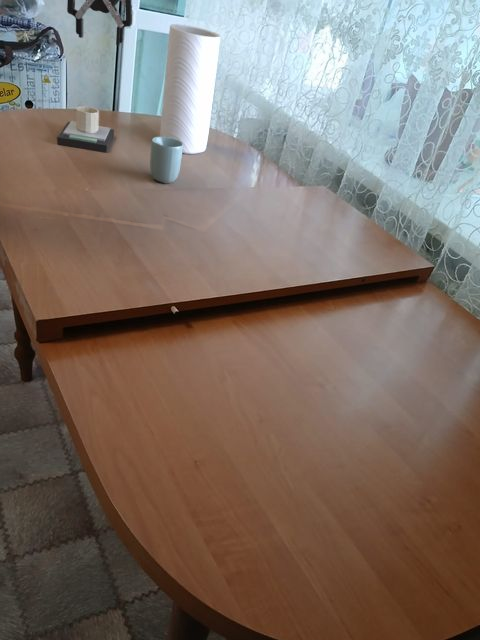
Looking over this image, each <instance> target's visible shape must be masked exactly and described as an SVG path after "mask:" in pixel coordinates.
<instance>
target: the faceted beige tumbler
mask: <svg viewBox="0 0 480 640" xmlns="http://www.w3.org/2000/svg"><path fill="white" fill-rule="evenodd" d="M75 122H76V127H77V128H78V130H80V131H82V132H86V133H95V132H97V131H98V130H99V126H100V110H99V109H97V108H95V107H92V106H87V105H86V106H85V105H80V106H76V108H75Z"/></svg>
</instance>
